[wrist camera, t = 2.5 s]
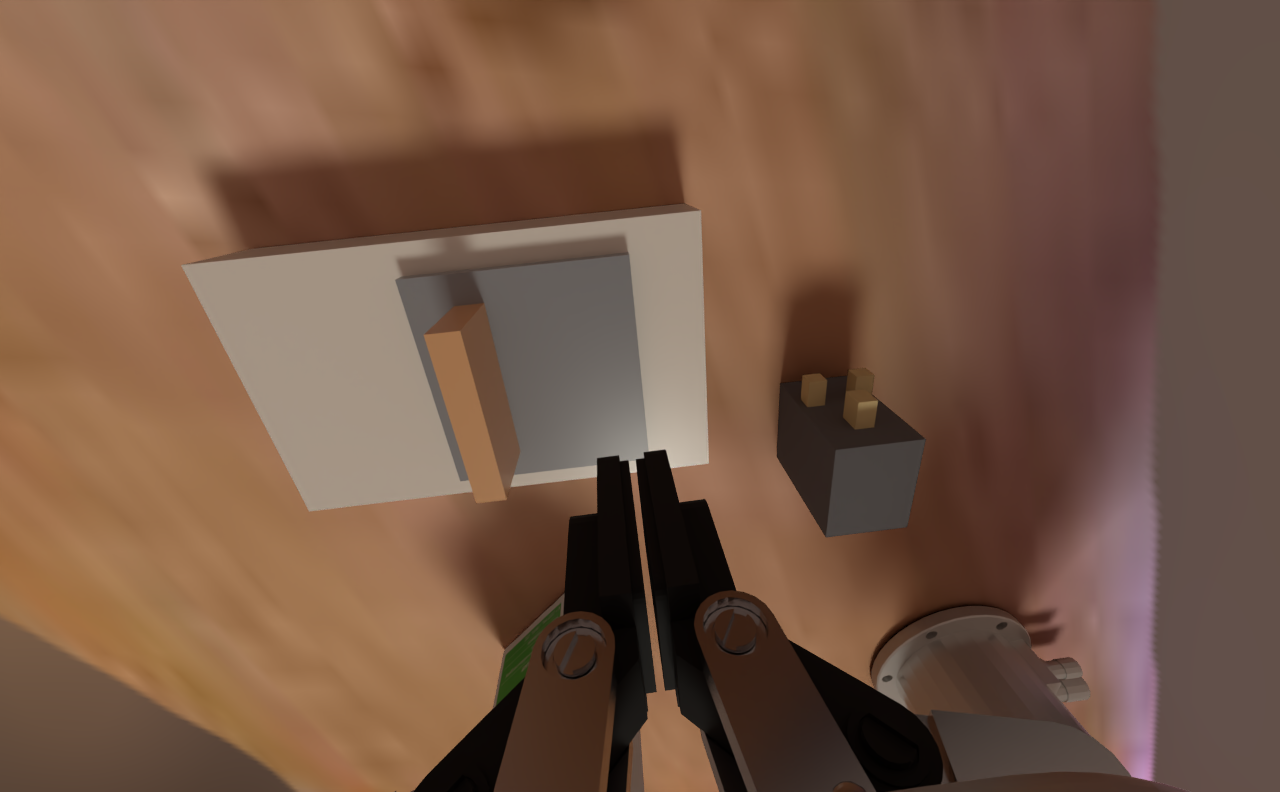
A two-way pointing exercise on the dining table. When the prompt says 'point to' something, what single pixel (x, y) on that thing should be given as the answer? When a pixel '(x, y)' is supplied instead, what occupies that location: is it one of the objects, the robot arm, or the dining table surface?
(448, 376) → the shutter
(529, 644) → the skincare box
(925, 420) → the dining table surface
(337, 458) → the socket block
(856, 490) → the plug
